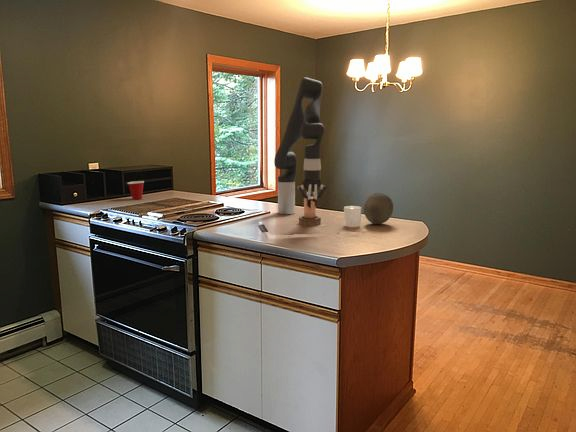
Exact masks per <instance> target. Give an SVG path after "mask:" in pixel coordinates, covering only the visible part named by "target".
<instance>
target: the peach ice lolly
mask: <svg viewBox="0 0 576 432" xmlns="http://www.w3.org/2000/svg"><path fill="white" fill-rule="evenodd" d="M313 199H314V198H313V196H310V200H311V208H309V207H308V206H307V199H306V198H304V197H303V216H304V217H305V218H315V217H316V216H317V206H315V202H314V201H313Z"/></svg>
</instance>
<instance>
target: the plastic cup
mask: <svg viewBox="0 0 576 432" xmlns="http://www.w3.org/2000/svg"><path fill="white" fill-rule="evenodd" d="M127 185H128V188H129V191H130V194H131V199H132V200H134V201H136V200H137V201H138V200H139V201H140V200H142V199H143V191H144V185H145V181H144V180H137V181H129V182H127Z"/></svg>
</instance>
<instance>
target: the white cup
mask: <svg viewBox="0 0 576 432" xmlns="http://www.w3.org/2000/svg"><path fill="white" fill-rule="evenodd" d="M343 220H344V221H343V222H344V227H346V228H347V227H348V228H358V227H360V226H361V221H362V207H361V206H359V205H358V206H357V205H346V206H344V207H343Z"/></svg>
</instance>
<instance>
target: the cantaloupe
mask: <svg viewBox="0 0 576 432" xmlns="http://www.w3.org/2000/svg"><path fill="white" fill-rule="evenodd" d="M393 212H394V202H393V199H392V198H391V197H390V196H389V195H388V194H385V193H381V192H380V193H379V192H376V193H373V194H372V193H371V194H370V195H369V196H368V197H367V198H366V200H365V203H364V206H363V213H364V216H365V218H366V219H367V221H368V222H369V223H371V224H372V225H377V226H378V225H381V224H384V223H386V222H388V220H389V219H391V217H392V215H393Z"/></svg>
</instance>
